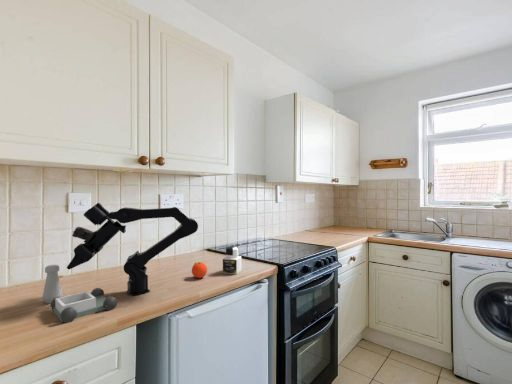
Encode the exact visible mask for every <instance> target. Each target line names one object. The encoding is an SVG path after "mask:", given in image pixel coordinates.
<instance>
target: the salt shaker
mask: <svg viewBox="0 0 512 384" xmlns="http://www.w3.org/2000/svg"><path fill="white" fill-rule="evenodd" d="M59 271H60V265H59V264H50V265H46V266H45V267H44V272H45V274H46V278H45V283H44V288H43V292H42V299H43V301H44V303H45V304H49V305H50V303H51V301H52V300H53V299H54V298H57V297H63V290H62V285H61V282H60V277H59V273H58V272H59Z"/></svg>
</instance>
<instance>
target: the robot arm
mask: <svg viewBox="0 0 512 384" xmlns="http://www.w3.org/2000/svg"><path fill="white" fill-rule="evenodd" d="M83 217H85V218H86V219H87V220H89V222H91V223H92V224H93V225H94V226H100V228H99V227H98V229H97V230H95V231H92V230H90V229H87V228H85V227H82V226H77V227H75V230H73V231H72V232H73V233H72V236H71V237H74V238H77V239H81V240H83V242H84V243H80V244H78V245H77V246H76V247H75V248H74V249H73V254H74V256H73V258H72V259H71V260H70V262H69V264H68V265H66V269H68V270H71V269H74V268H76V267H78V266H80V265H82V264H85V263H87V262H89V261H90V260H91V259H92V258H94V257H95V255H97V254H98V253H99V252H101V251H102V249H104V246H105V245H107V244H108V242H109V241H111V240H112V238H114V237H115V236H116V235H117V234H118V233H119V232H121V233H122V234H125V233H126V232H127V230H126V229H127V228H126V227H127V225H122V224H128V223H131V222H136V221H140V220H147V219H149V220H150V219H162V218H163V219H164V218H174V219H175V221H177V222H178V223H179V224H180V225H179V226H177V228H176V229H175V230H174V231H172V232H171V233H169V234H168V235H166V236H165V237H163V238H162V239H160V240H159V241H158V242H156V243H155V244H153V245H152V246H150V247H149V248H147V249H146V250H144V251H142V252H139V250H136V251H135V252H134V253H133V254H131V255H129V256H128V257H127V259H126V262H125V263H124V264H123V271H124V273H125V274H126V275H128V281H127V291H126V293H128V294H130V295H131V296H138V295H142V294H146V293H150V292H151V290H150V289H149V282H148V281H149V279H148V278H149V275H148V274H147V269H148V267H146V265H147V263H148V262H149V261H150V260H152V259H153V258H155V257H156V256H158V255H159V254H160V253H162V252H163V251H165V250H166V249H168V248H170V247H171V246H172V245H174V244H175V243H176V242H178V241H179V240H181V239H184V238H186V237H188V236H191V235H193V234H195V233H197V231H198V230H199V224H198V222H197V221H196V220H195V219H194V218H191V217H188V216H187V215H186V214H184V213H183V212H182V211H181V210H180V209H179V207H175V206H173V207H163V208H160V207H159V208H145V209H143V208H142V209H141V208H135V207H128V206H127V207H122V208H119V209H118V210H117V211H110V212H109V211H108V210H107V209H106V208H105V207H104V206H103V205H102V204H101V203H100V202H97V203H96V204H95V205H93V206H92V207H90V208H88V209H87V210H86V211H85V212H84V213H83ZM114 220H115V221H114ZM103 223H104V224H103Z"/></svg>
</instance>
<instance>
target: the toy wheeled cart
mask: <svg viewBox="0 0 512 384" xmlns="http://www.w3.org/2000/svg"><path fill="white" fill-rule="evenodd" d="M49 305H50V309H52V310H53V314H54V315H56V317H57V318H58V319H59V321H60V322H61V323H70V322H73V321H74V320H75V319H78V318H82V317H85V316H89V315H92V314H95V313H98V312H103V311H105V310H106V311H111V310H114V309H115V308H116V307H117V305H118V299H117V298H116V297H114V296H108V297H107V296H105V291H104V290H103V289H102V288H100V287H95V288H93V289H92V291H91V292H89V291H87V290H85V291H82V292H78V293H73V294H69V295H64V296H61V297H57V298H54V299H53V300H52V301H51V303H50V304H49Z"/></svg>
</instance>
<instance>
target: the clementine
mask: <svg viewBox="0 0 512 384" xmlns="http://www.w3.org/2000/svg"><path fill="white" fill-rule="evenodd" d="M207 273H208V268H207V265H206V264H205V263H204V262H203V261H201V262H200V261H197V262H196V261H195V263H194V264H193V265H192V267H191V274H192V276H194V277H195V278H196V279H201V278H204V277H205V276H206V275H207Z"/></svg>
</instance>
